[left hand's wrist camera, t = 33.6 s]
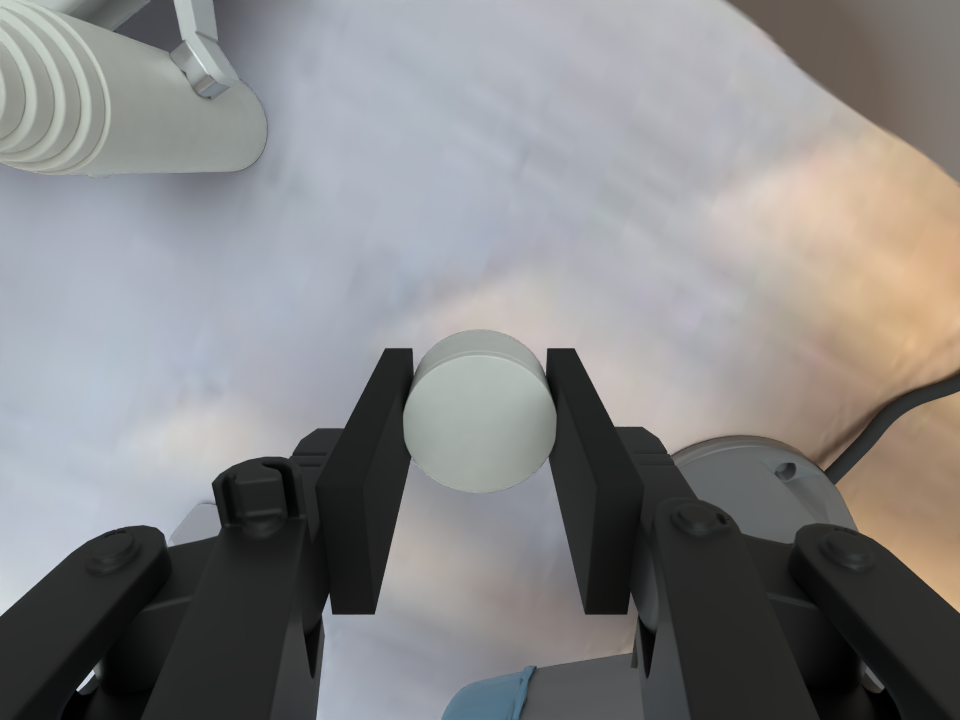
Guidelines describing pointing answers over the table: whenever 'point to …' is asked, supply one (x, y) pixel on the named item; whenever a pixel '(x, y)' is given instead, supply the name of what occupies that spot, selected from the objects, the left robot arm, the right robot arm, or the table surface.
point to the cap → (479, 412)
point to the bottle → (111, 103)
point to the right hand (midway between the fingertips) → (165, 129)
